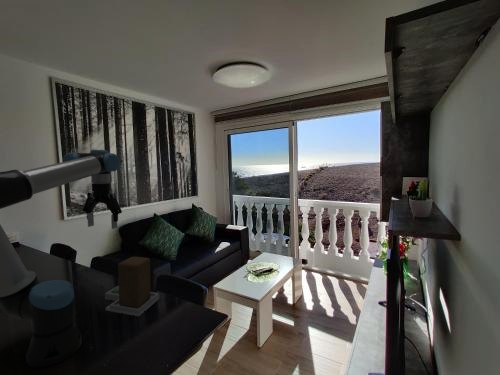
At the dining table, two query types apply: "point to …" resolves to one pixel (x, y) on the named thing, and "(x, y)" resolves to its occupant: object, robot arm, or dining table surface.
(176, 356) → the dining table surface
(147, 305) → the shallow gray rectangular tray
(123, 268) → the wooden block
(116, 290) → the button
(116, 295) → the button housing
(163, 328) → the dining table surface
